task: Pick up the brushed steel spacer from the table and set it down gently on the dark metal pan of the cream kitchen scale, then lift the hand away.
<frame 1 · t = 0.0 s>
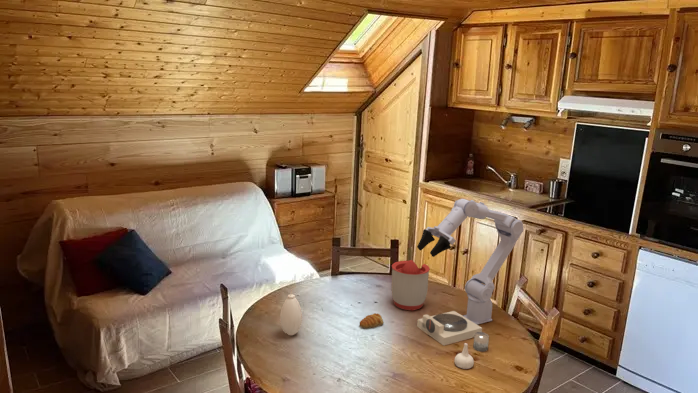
hand: (425, 251, 187), 32 cm above the table, tool tilted 50°, fingers open, 7 cm apart
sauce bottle: (290, 334, 191), on the table
pastry: (371, 325, 201), on the table
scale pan: (449, 322, 197), point 4 cm above the table, slide at -0.5 cm
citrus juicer: (409, 304, 220), on the table
garlic bulb: (463, 365, 175), on the table
steel spacer: (480, 348, 186), on the table
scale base: (448, 330, 198), on the table
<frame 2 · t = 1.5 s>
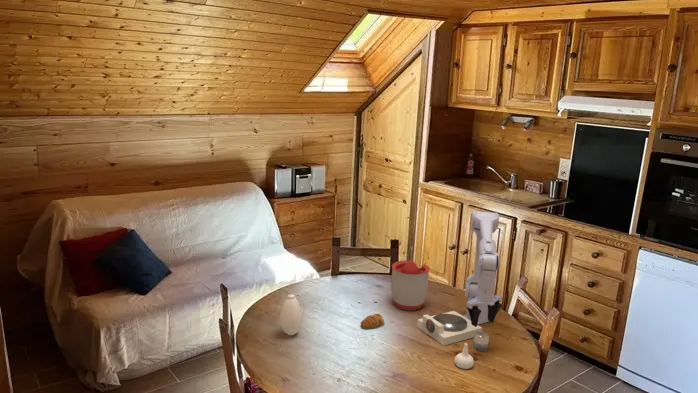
hand: (482, 323, 184), 10 cm above the table, tool pointing down, fingers open, 7 cm apart
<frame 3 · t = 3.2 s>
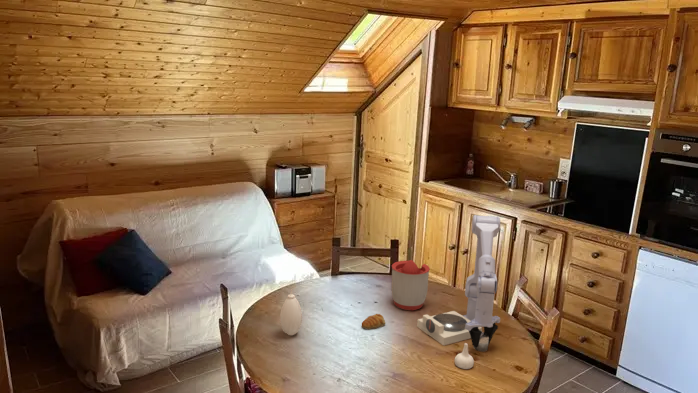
hand: (480, 344, 186), 1 cm above the table, tool pointing down, fingers closed on steel spacer, 5 cm apart
steel spacer: (480, 347, 186), on the table, touching gripper
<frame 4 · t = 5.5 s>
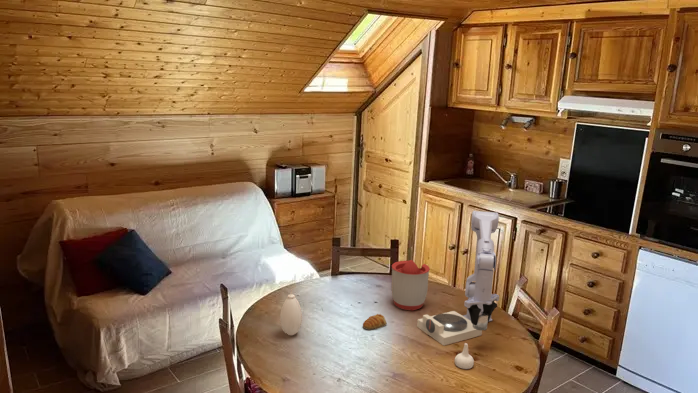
hand: (479, 322, 185), 9 cm above the table, tool pointing down, fingers closed on steel spacer, 5 cm apart
steel spacer: (479, 327, 185), point 8 cm above the table, touching gripper
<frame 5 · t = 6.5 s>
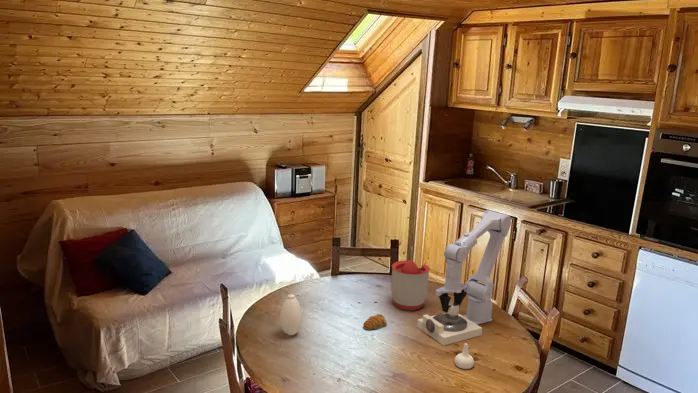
hand: (450, 310, 196), 9 cm above the table, tool pointing down, fingers closed on steel spacer, 5 cm apart
steel spacer: (451, 316, 196), point 6 cm above the table, touching gripper
when the fingers open (7 cm above the table, at t = 7.6 s): steel spacer stays where it is, resting on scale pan.
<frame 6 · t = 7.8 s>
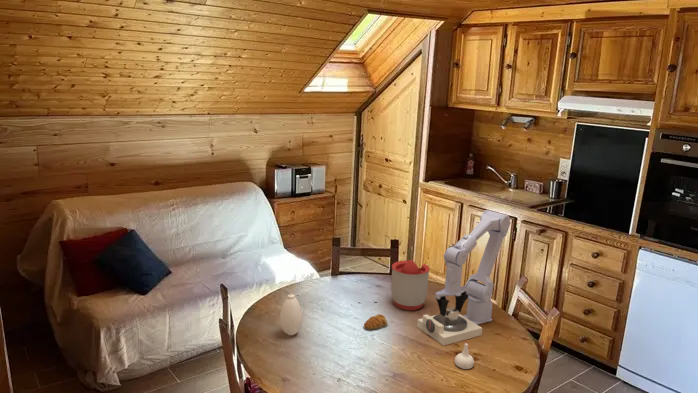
hand: (450, 313, 196), 7 cm above the table, tool pointing down, fingers open, 7 cm apart
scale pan: (449, 322, 197), point 4 cm above the table, slide at -0.5 cm, touching steel spacer
steel spacer: (450, 322, 196), point 4 cm above the table, touching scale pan
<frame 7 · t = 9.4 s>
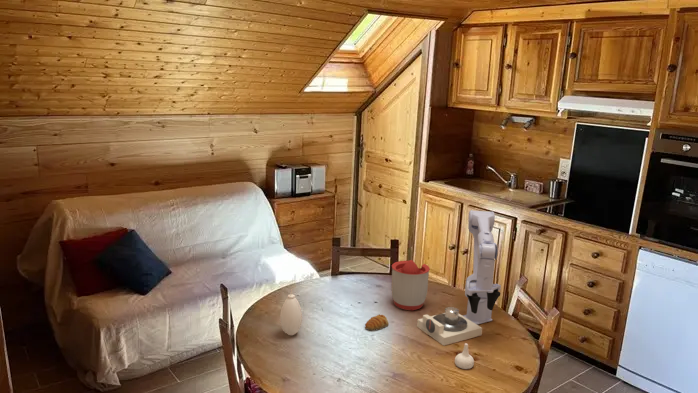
hand: (481, 310, 192), 10 cm above the table, tool pointing down, fingers open, 7 cm apart
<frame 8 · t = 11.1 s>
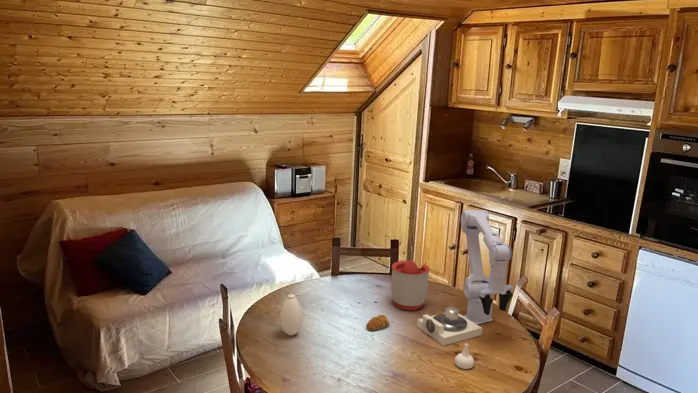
hand: (494, 312, 191), 10 cm above the table, tool pointing down, fingers open, 7 cm apart
at the end: steel spacer inside the target area on the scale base (0.7 cm from its centre), point 3.9 cm above the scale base's base; steel spacer touching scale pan; the gripper is holding nothing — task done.
